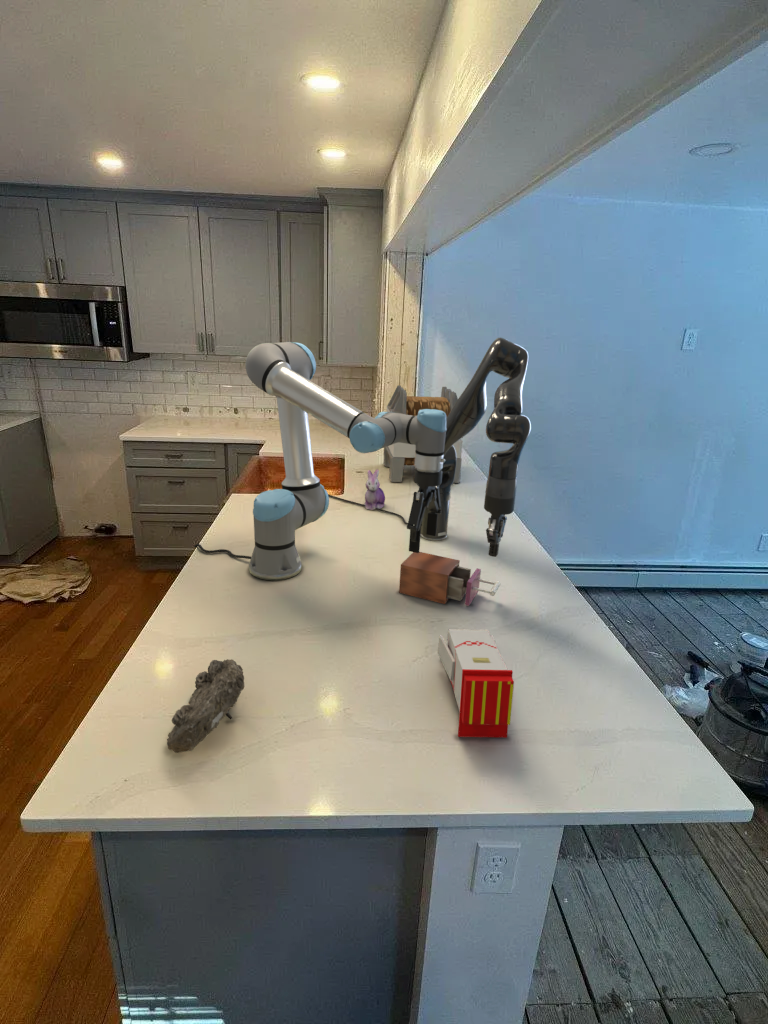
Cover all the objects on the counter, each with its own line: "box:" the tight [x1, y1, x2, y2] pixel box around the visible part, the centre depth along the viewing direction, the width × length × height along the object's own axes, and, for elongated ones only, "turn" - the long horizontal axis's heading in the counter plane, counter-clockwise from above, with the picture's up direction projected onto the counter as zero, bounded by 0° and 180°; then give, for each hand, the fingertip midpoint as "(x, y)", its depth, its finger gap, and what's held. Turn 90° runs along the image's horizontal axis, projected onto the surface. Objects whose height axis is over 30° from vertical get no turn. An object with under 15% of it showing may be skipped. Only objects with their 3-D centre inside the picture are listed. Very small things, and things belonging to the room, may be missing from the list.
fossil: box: [166, 658, 245, 754], centre depth 106 cm, size 22×10×15 cm
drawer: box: [447, 565, 501, 607], centre depth 156 cm, size 18×10×7 cm, turn 66°
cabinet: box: [398, 551, 460, 605], centre depth 159 cm, size 14×11×9 cm
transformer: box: [383, 384, 464, 484], centre depth 268 cm, size 34×33×41 cm
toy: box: [437, 628, 515, 738], centre depth 117 cm, size 12×13×30 cm
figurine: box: [363, 468, 386, 511], centre depth 223 cm, size 9×10×15 cm
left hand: (422, 543), depth 157 cm, fingers open, 13 cm apart
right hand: (493, 555), depth 149 cm, fingers closed
